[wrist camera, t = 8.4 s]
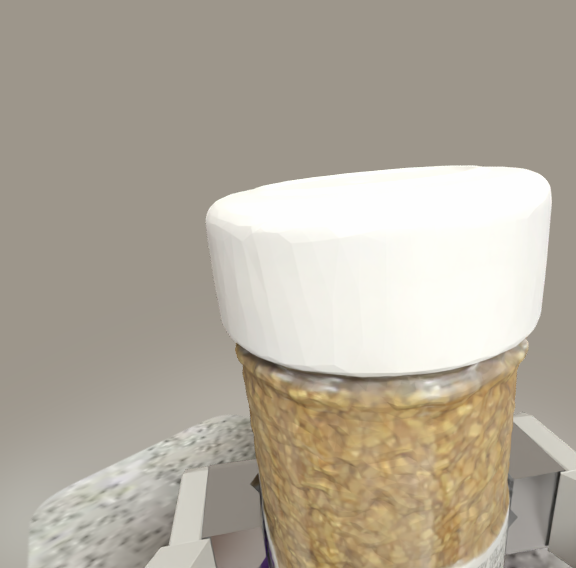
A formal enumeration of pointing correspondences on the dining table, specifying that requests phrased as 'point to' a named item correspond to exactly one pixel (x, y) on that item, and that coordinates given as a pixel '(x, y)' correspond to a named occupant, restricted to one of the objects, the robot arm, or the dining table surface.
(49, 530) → the dining table surface
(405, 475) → the sprinkles bottle
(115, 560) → the dining table surface
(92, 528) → the dining table surface
